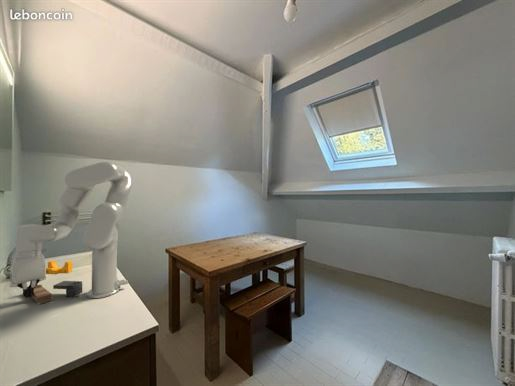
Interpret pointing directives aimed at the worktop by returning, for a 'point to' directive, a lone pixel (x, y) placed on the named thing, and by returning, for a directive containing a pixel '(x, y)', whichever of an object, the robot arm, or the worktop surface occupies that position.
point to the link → (41, 294)
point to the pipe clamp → (58, 268)
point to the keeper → (70, 287)
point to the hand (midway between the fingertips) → (28, 297)
